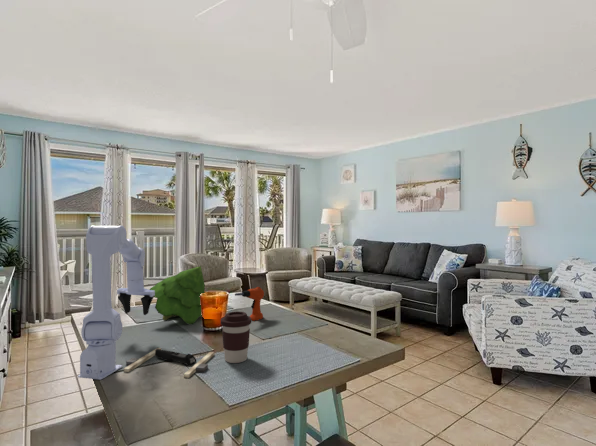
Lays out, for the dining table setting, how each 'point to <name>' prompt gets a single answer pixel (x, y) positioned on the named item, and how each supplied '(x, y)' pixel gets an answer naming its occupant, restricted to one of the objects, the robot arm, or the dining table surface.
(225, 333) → the coffee cup
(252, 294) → the toy drill
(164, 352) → the black flashlight
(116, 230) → the robot arm
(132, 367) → the joist track
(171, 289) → the decorative tree
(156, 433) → the dining table surface
